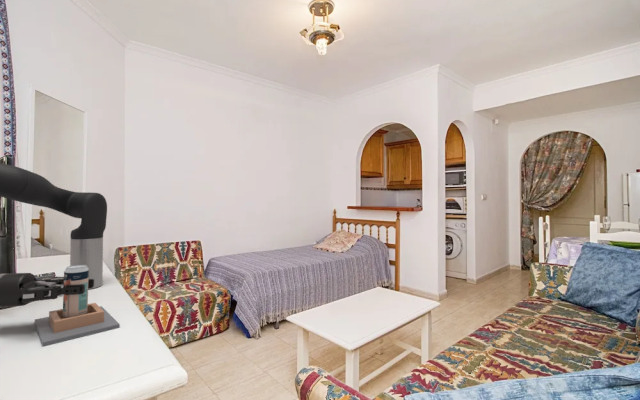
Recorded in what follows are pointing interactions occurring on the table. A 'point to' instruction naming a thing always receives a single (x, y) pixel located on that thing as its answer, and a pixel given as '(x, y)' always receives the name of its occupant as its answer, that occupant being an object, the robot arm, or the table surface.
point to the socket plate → (74, 325)
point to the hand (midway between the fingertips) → (88, 286)
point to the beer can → (78, 302)
